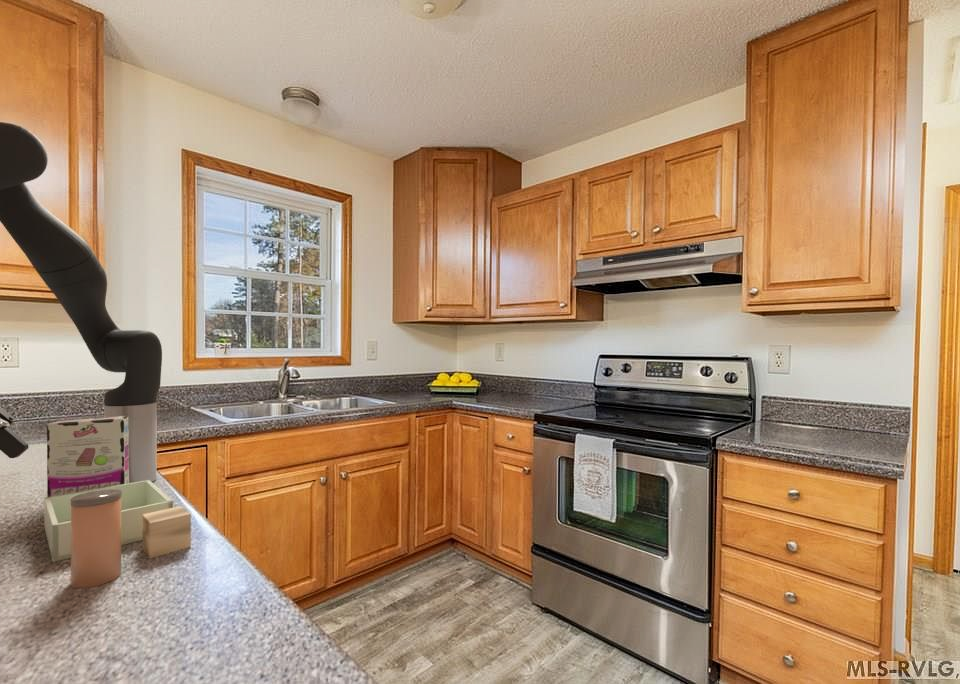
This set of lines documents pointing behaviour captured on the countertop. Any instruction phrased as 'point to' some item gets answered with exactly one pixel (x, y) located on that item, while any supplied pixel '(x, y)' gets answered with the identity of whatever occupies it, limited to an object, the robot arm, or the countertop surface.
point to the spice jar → (95, 538)
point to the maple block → (166, 531)
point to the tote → (133, 506)
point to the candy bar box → (87, 454)
